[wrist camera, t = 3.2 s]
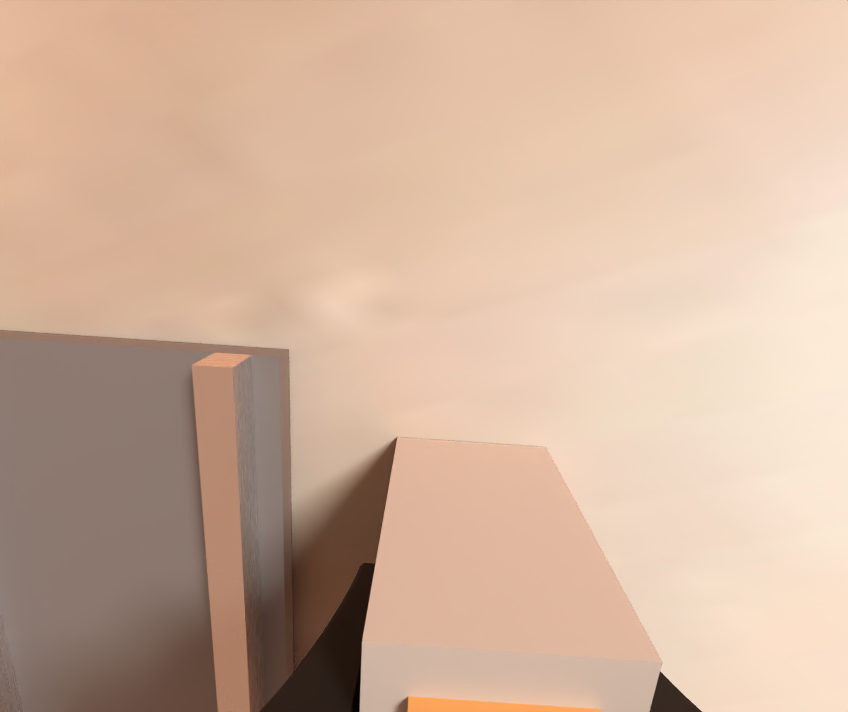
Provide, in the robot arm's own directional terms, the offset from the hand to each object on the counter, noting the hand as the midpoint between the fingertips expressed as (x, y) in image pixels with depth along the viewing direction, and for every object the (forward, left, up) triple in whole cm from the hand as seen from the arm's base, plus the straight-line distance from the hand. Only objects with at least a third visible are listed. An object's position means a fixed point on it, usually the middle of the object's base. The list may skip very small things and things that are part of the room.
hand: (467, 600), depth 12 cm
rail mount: (+11, +1, -2) cm, 11 cm away
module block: (0, 0, -2) cm, 2 cm away
